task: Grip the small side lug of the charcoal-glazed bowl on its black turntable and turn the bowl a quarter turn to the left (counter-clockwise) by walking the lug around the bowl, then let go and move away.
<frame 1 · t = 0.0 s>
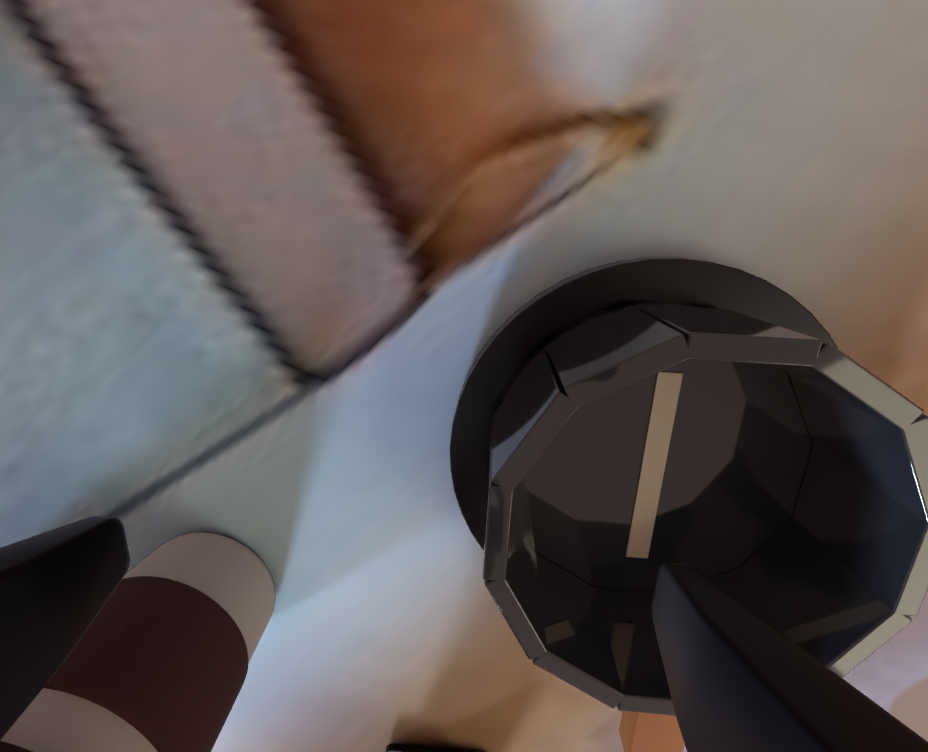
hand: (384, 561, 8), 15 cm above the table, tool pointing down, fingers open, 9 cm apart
bowl: (664, 532, 19), point 4 cm above the table, hinge at 0.0°
turntable: (638, 450, 23), on the table
coffee cup: (218, 580, 27), on the table
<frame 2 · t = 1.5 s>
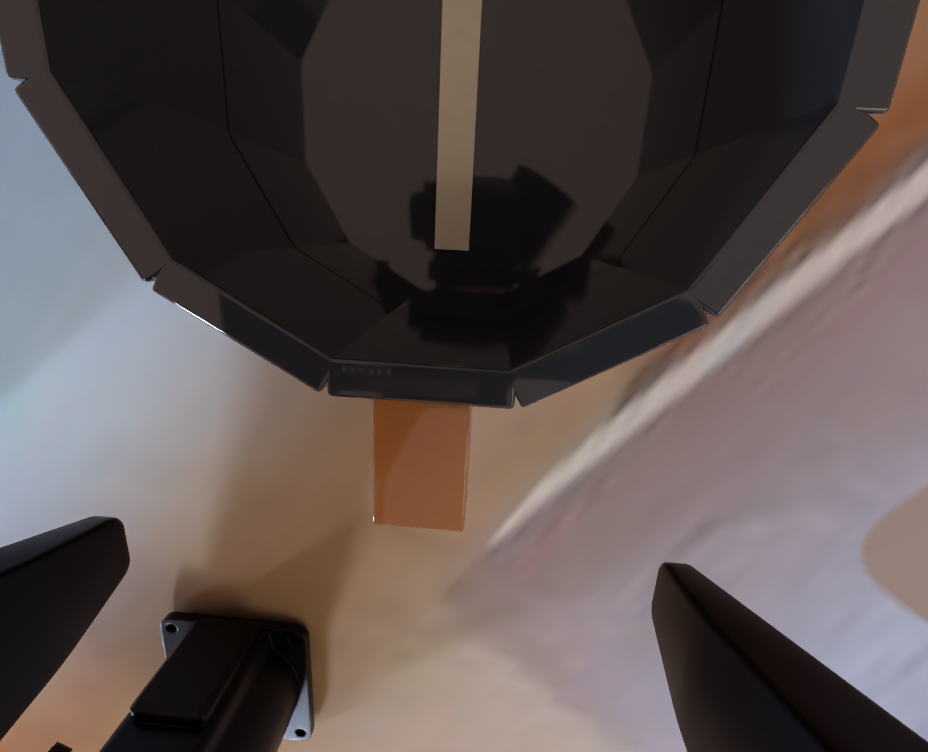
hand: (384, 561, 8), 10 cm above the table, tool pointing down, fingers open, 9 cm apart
bowl: (447, 115, 11), point 4 cm above the table, hinge at 0.0°
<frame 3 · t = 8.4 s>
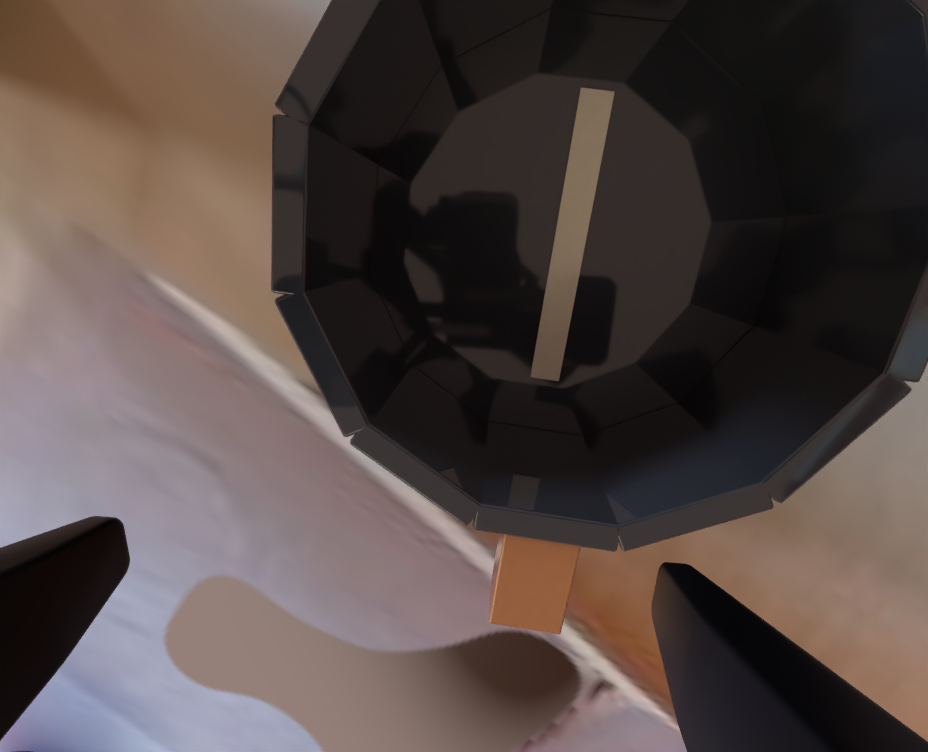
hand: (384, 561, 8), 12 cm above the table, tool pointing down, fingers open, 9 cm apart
bowl: (569, 302, 13), point 4 cm above the table, hinge at 85.2°
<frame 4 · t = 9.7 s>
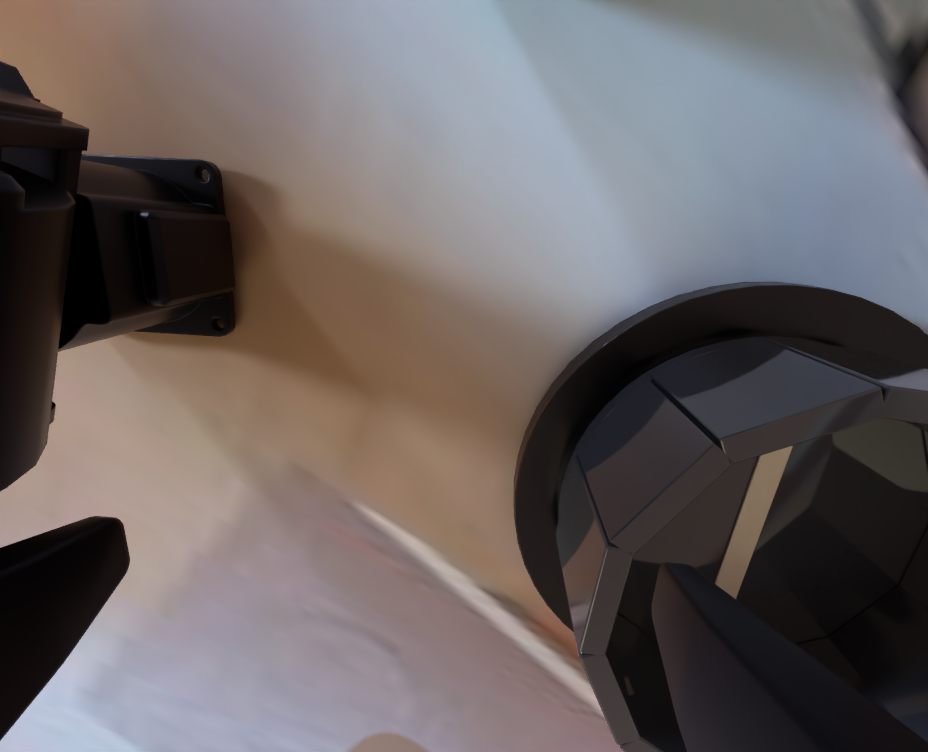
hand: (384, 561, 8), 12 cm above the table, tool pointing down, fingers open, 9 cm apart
bowl: (770, 599, 16), point 4 cm above the table, hinge at 85.2°
turntable: (724, 495, 20), on the table
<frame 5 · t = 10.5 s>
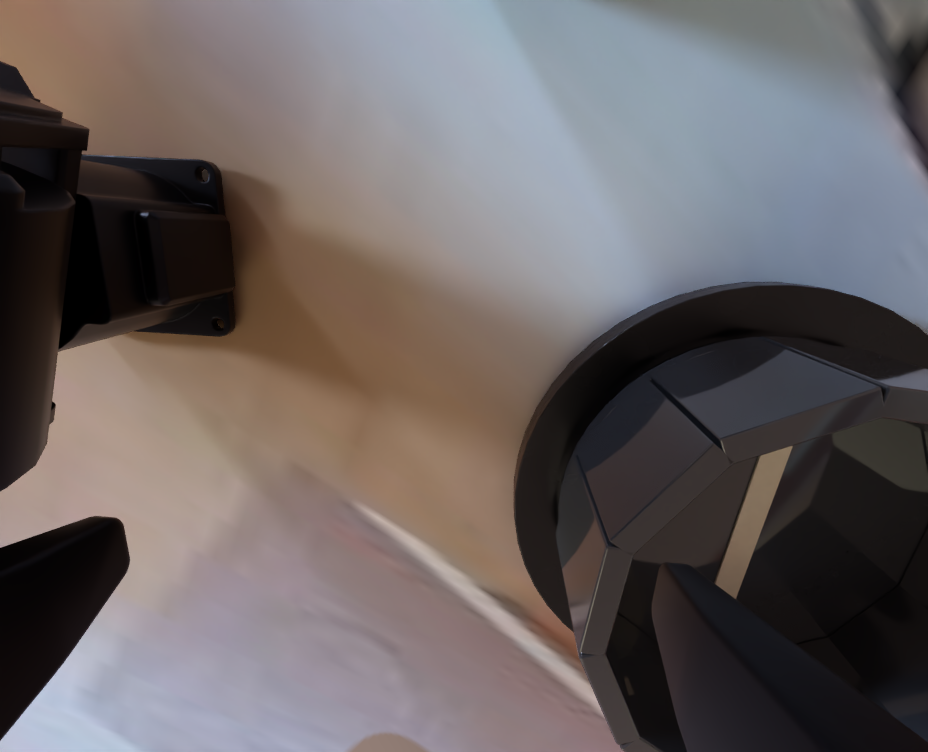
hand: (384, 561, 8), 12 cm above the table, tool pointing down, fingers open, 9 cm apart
bowl: (770, 599, 16), point 4 cm above the table, hinge at 85.2°
turntable: (724, 495, 20), on the table
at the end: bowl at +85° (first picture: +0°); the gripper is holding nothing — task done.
